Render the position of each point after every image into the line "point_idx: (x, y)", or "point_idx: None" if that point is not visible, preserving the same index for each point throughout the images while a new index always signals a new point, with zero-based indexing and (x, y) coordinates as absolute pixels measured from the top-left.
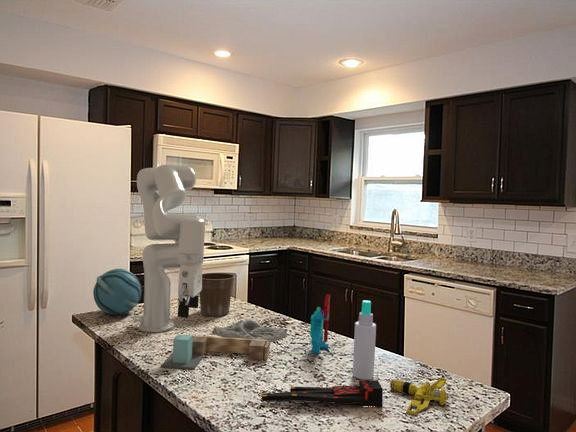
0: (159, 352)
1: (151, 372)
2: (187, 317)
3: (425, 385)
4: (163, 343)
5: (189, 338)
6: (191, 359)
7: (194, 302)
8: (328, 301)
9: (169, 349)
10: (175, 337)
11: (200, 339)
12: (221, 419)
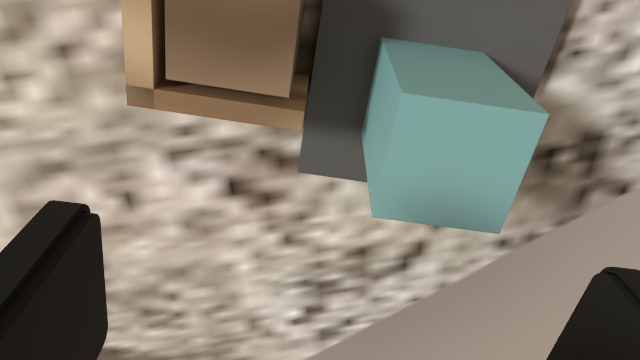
0: (260, 234)
1: (552, 222)
2: (633, 275)
3: None
4: (110, 239)
5: (501, 109)
6: (413, 34)
7: (54, 331)
8: None
9: (203, 194)
10: (455, 225)
11: (229, 7)
12: None
